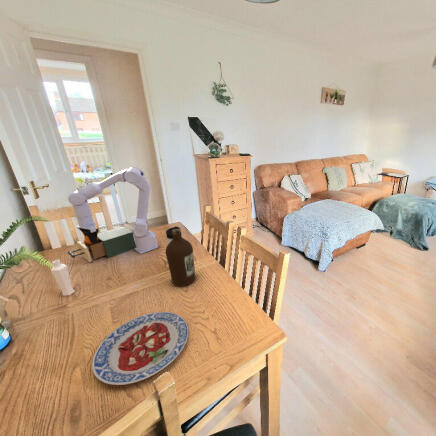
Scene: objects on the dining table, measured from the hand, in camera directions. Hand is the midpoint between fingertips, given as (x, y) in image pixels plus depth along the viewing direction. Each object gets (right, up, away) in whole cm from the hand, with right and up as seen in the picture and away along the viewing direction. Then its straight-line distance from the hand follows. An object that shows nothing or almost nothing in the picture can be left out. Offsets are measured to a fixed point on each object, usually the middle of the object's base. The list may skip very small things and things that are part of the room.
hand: (92, 240), depth 118 cm
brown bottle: (+51, -17, -11) cm, 55 cm away
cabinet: (+5, -5, +11) cm, 13 cm away
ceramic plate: (+53, -30, -43) cm, 74 cm away
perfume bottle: (+9, -19, -22) cm, 30 cm away
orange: (0, -1, 0) cm, 1 cm away
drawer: (-1, -8, +2) cm, 8 cm away
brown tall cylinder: (+44, -12, -1) cm, 46 cm away
